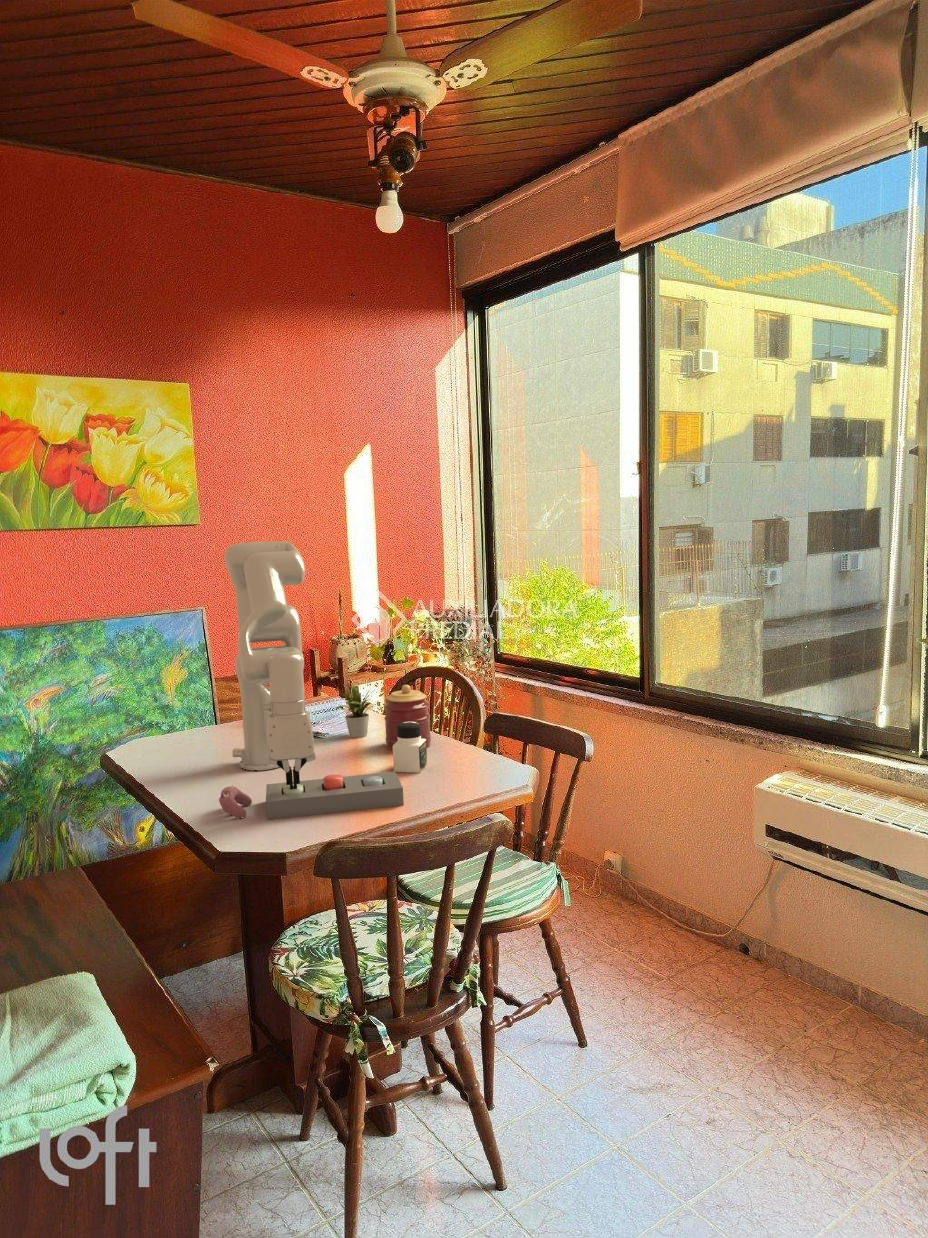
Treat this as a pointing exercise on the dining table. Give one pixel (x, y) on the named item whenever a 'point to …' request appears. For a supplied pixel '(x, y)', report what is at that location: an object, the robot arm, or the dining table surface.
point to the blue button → (372, 781)
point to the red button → (333, 782)
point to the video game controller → (234, 801)
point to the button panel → (333, 796)
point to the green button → (292, 791)
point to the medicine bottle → (409, 749)
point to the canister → (406, 713)
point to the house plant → (356, 713)
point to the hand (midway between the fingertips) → (293, 787)
